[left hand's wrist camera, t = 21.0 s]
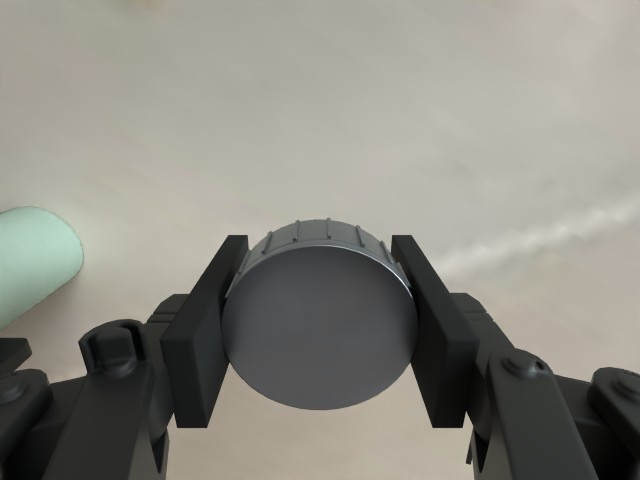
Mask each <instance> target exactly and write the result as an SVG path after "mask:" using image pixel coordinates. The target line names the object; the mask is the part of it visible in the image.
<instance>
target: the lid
mask: <svg viewBox="0 0 640 480" xmlns="http://www.w3.org/2000/svg"><path fill="white" fill-rule="evenodd" d="M409 288H411V286H410V284H409V282H408V280H407V278H406V275H405V273H404V271H403V269H402V267H401V265H400V263H399V262H398V263H396V261H395V259H394V258H393V256H392V255H391V253H390V252H389V251H388V249H387V248H386V246H385V243H384V242H383V241H381V242H380V241H379V240H377V239H376V238H375V237H374V236H372V235H371V234H369V233H367V232H366V231H364V230H362V229H361V228H360V226H358V225H357V226H356V227H355V226H353V225H350V224H346V223H343V222H339V221H332V220H330V218H327V220H308V221H301V222H300V221H299V220H296V223H293V224H290V225H287V226H285V227H282V228H280V229H278V230H276V231H274V232H271V231H270V232H268V235H267V236H266V237H265V238H264V239H262V240H261V241H260V242H259V243H258V244H257V245H256V246H255V247H254V248H253V249H252V251H251V250H248V252H247V254H246V256H245V258H244V260H243V262H242V264H241V266H240V268H239V271H238V273H236V275H235V277H234V279H233V281H232V283H231V285H230V287H229V289H228V291H227V294H226V296H225V298H224V300H226V302H225V304H224V307H223V311H222V316H221V333H222V341H223V347H224V350H225V353H226V355H227V357H228V360H229V361H230V363H231V365H232V366H233V368H234V370H235V371H236V372H237V373H238V375H239V376H240V377H241V378H242V379H243V380H244V381H245V382H246V383H247V384H248V385H249V386H251V387H252V388H253V389H254V390H256V391H257V392H259V393H260V394H262V395H264V396H265V397H267V398H269V399H271V400H274V401H276V402H278V403H281V404H284V405H287V406H291V407H295V408H300V409H308V410H331V409H339V408H345V407H349V406H352V405H356V404H359V403H361V402H364V401H366V400H369V399H371V398H372V397H374V396H376V395H378V394H380V393H381V392H382V391H384V390H385V389H387V388H388V387H389V386H390V385H392V384H393V383H394V382H395V381H396V380H397V379H398V378H399V377H400V376H401V374H402V373H403V372H404V371H405V369H406V368H407V366H408V365H409V363H410V361H411V359H412V357H413V355H414V352H415V349H416V346H417V339H418V331H419V318H418V312H417V308H416V305H415V302H414V299H413V297H412V295H411V293H410V290H409Z"/></svg>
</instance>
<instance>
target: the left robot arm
mask: <svg viewBox="0 0 640 480" xmlns="http://www.w3.org/2000/svg"><path fill="white" fill-rule="evenodd" d="M248 250H249V247H248V235H228V237H227V238H226V240H225V241H224V243H223V244H222V246H221V247H220V249H219V250H218V252H217V253H216V255H215V256H214V258H213V259H212V261H211V262H210V264H209V265H208V267H207V268H206V270H205V271H204V273H203V274H202V276H201V277H200V279H199V280H198V282H197V283H196V285H195V286H194V288H193V289H192V291H191V292H190V294H173V295H172V296H170V297H169V298H167V299H166V300H164V301H163V302H161V303H160V305H159V306H158V307H157V309H156V310H155V311H154V312H153V315H151V316H150V318H149V319H148V320H147V323H145V324H142V323H141V322H140V321H137V320H132V319H123V320H116V321H111V322H107V323H104V324H102V325H100V326H97V327H95V328H93V329H92V330H90V331H89V332H87V333H86V334H84V336H83V337H82V338H81V339H80V340H79V341H78V343H79V346H80V350H81V353H82V356H83V359H84V363H85V366H86V369H87V375H86V376H83V377H80V378H75V379H71V380H66V381H61V382H57V383H52V384H50V383H49V381H48V378H47V375H46V374H45V373H44V372H43V371H41V370H37V369H25V370H19V371H15V372H11V373H8V374H5V375H3V376H0V480H165V479H166V470H167V460H168V451H169V436H168V431H167V426H168V423H169V421H170V419H171V417H172V415H173V413H174V415H175V420H176V424H177V428H207V427H208V424H209V421H210V418H211V415H212V412H213V409H214V406H215V403H216V400H217V397H218V394H219V391H220V388H221V386H222V383H223V380H224V377H225V374H226V371H227V368H228V365H229V362H230V361H229V360H228V357H227V355H226V353H225V350H224V347H223V341H222V333H221V316H222V311H223V307H224V304H225V302H226V300H224V298H225V296H226V294H227V291H228V289H229V287H230V285H231V283H232V281H233V279H234V277H235V275H236V273H238V271H239V268H240V266H241V264H242V262H243V260H244V258H245V256H246V254H247V252H248ZM391 255H392V256H393V258H394V259H395V261H396V263H398V262H399V263H400V265H401V267H402V269H403V271H404V273H405V275H406V278H407V280H408V282H409V284H410V286H411V288H409V290H410V293H411V295H412V297H413V299H414V302H415V305H416V308H417V312H418V318H419V331H418V339H417V346H416V349H415V352H414V355H413V357H412V359H411V361H410V363H411V366H412V369H413V371H414V374H415V377H416V380H417V383H418V386H419V389H420V392H421V395H422V398H423V401H424V404H425V407H426V410H427V413H428V415H429V418H430V421H431V424H432V427H433V428H463V423H464V418H465V414H466V411H467V414H468V416H469V418H470V420H471V422H472V424H473V431H472V435H471V440H470V444H469V449H468V454H467V459H466V464H470V465H471V461H472V459H473V469H474V478H475V480H640V375H639V374H637V373H634V372H630V371H628V370H624V369H619V368H612V367H606V368H599V369H598V370H597V371H595V372H594V374H593V377H592V380H591V382H586V381H581V380H576V379H572V378H567V377H562V376H559V375H555V374H553V372H552V370H551V369H550V367H549V366H548V365H547V364H546V363H545V362H544V361H543V360H541V359H540V358H539V357H537V356H535V355H533V354H531V353H529V352H527V351H524V350H520V349H517V348H515V347H514V346H513V345H512V343H511V342H510V341H509V339H508V338H507V337H506V336H505V334H504V333H503V332H502V330H501V329H500V328H499V327H498V325H497V324H496V323H495V322H493V319H492V318H491V316H490V315H489V314H488V313H487V311H486V310H485V309H484V307H483V306H482V305H481V303H480V302H479V301H478V300H476V299H474V298H473V297H471V296H470V295H468V294H467V293H449V291H448V290H447V288H446V287H445V285H444V284H443V282H442V281H441V279H440V278H439V276H438V275H437V273H436V272H435V270H434V269H433V267H432V266H431V264H430V263H429V261H428V260H427V258H426V257H425V255H424V254H423V252H422V251H421V249H420V248H419V246H418V245H417V243H416V242H415V240H414V238H413V237H412V235H392V244H391Z"/></svg>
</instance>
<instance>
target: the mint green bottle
mask: <svg viewBox="0 0 640 480" xmlns="http://www.w3.org/2000/svg"><path fill="white" fill-rule="evenodd" d="M82 262H83V250H82V246H81V243H80V241H79V239H78V237H77V235H76V234H75V232H74V231H73V230H72V228H71V227H70V226H69V225H68V224H67V223H66V222H65V221H63V220H62V219H61V218H59V217H58V216H56V215H55V214H53V213H51V212H49V211H46V210H43V209H40V208H35V207H19V208H15V209H12V210H9V211H6V212H4V213H1V214H0V330H2V329H3V328H5V327H6V326H7V325H9V324H10V323H11V322H13V321H14V320H16V319H17V318H18V317H20V316H21V315H22V314H24V313H25V312H26V311H28V310H29V309H31V308H32V307H33V306H35V305H36V304H37V303H39V302H40V301H42V300H43V299H44V298H46V297H47V296H48V295H50V294H51V293H53V292H54V291H55V290H57V289H58V288H59V287H61V286H62V285H64V284H65V283H66V282H68V281H69V280H70V279H72V278H73V277H74V276H75V275H76V274H77V273H78V272H79V270H80V268H81V266H82Z"/></svg>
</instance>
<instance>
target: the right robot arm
mask: <svg viewBox="0 0 640 480" xmlns="http://www.w3.org/2000/svg"><path fill="white" fill-rule="evenodd" d="M31 355H32V351H31V348H30V346H29V343H28V341H27V339H26V338H0V376H3V375H5V374H8V373H11V372H13V371H15V370H16V369H17V368H18V367H19V366H20V365H21V364H22V363H23V362H24V361H26V360H27V359H28V358H29V357H30V356H31Z"/></svg>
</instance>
